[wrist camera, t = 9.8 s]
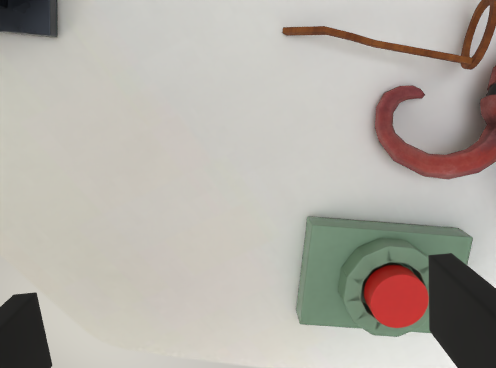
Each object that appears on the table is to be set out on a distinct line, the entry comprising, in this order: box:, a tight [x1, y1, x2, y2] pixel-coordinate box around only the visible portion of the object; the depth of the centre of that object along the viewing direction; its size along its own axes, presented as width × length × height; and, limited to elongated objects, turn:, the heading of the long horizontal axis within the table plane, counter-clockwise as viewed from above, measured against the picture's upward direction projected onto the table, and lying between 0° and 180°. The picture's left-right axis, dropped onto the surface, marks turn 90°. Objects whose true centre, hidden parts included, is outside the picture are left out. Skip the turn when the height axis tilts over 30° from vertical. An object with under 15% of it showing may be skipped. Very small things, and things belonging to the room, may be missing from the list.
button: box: [364, 265, 429, 328], centre depth 31 cm, size 4×4×2 cm
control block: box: [296, 217, 473, 337], centre depth 33 cm, size 12×8×4 cm, turn 85°
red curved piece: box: [375, 66, 496, 179], centre depth 30 cm, size 11×6×12 cm
